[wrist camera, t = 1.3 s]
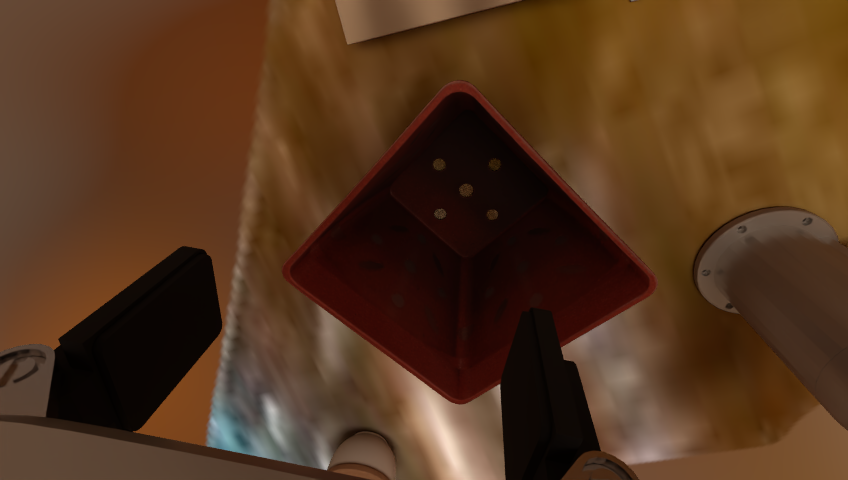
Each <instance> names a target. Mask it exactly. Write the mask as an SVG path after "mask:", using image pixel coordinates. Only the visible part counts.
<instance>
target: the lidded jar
mask: <svg viewBox="0 0 848 480" xmlns="http://www.w3.org/2000/svg"><path fill="white" fill-rule="evenodd" d="M327 471H332V472H336V473H341V474H346V475H351V476H356V477H361V478H366V479H370V480H395V477H396V463H395V458H394V455H393V452H392V450H391V448H390V447H389V445H388V443H387V441H386V440H385V439H384V438H383V437H382V436H381V435H379V434H377V433H374V432H369V431H362V432H358V433H356V434H354V436H352V437H350V438H348V439H346V440H345V441H344V442H343V443H342V444H341V445H340V446H339V447H338V448H337V450H336V452H335V453H334V455H333V457H332V459H331V461H330V464H329V466H328V469H327Z"/></svg>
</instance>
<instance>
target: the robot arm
mask: <svg viewBox="0 0 848 480" xmlns="http://www.w3.org/2000/svg"><path fill="white" fill-rule="evenodd" d="M694 281H695V283H696V286H697V288H698V290H699V291H700V292H701V294H702V295H703V296H704V298H705V299H706V300H707V301H708V302H709V303H711V304H712V305H714V306H715V307H717V308H719V309H721V310H724V311H727V312H732V313H737V314H741V316H742V317H743V318H744V319H745V320H746V321H747V322H748V323H749V324H750V326H751V327H752V328H753V329H754V330H755V331H756V332H757V333H758V334H759V336H760V337H761V338H762V339H763V340H764V341H765V342H766V343H767V345H768V346H769V347H770V348H771V349H772V350H773V351H774V352H775V353H776V355H777V356H778V357H779V358H780V359H781V360H782V361H783V362H784V363H785V365H786V366H787V367H788V368H789V369H790V370H791V371H792V372H793V373H794V375H795V376H796V377H797V378H798V379H799V380H800V381H801V382H802V384H803V385H804V386H805V387H806V388H807V389H808V390H809V391H810V392H811V394H812V395H813V396H814V397H815V398H816V399H817V400H818V401H819V402H820V404H821V405H822V406H823V407H824V408H825V409H826V410H827V411H828V412H829V413H830V415H831V416H832V417H833V418H834V419H835V420H836V421H837V422H838V423H839V424H840V425H842V426H843V427H844V428H845V429H846V430H848V248H847V247H845V246H844V245H842V244H840V243H839V241H838V236H837V234H836V232H835V231H834V229H833V227H832V226H831V225H830V224H829V223H828V222H827V221H825V220H824V219H822V218H820V217H819V216H817V215H815V214H813V213H811V212H809V211H806V210H803V209H798V208H793V207H774V208H767V209H762V210H758V211H754V212H751V213H748V214H746V215H743V216H741V217H739V218H736V219H735V220H733V221H731V222H730V223H728V224H726V225H724V226H723V227H722V228H721V229H719V230H718V231H717V232H716V233H714V234H713V235H712V236H711V238H710V239H709V240H708V241H707V242H706V243H705V244H704V246H703V247H702V249H701V250H700V252H699V254H698V256H697V259H696V261H695V266H694ZM221 329H222V319H221V313H220V307H219V301H218V295H217V289H216V283H215V277H214V271H213V265H212V260H211V257H210V256H209V255H207V253H206V252H205V250H203V249H197V248H192V247H186V246H182V247H180V248H179V249H177V250H176V251H175V252H173V253H172V254H171V255H169V256H168V257H167V258H166V259H164V260H163V261H162V262H160V263H159V264H157V265H156V266H155V267H153V268H152V269H151V270H149V271H148V272H147V273H145V274H144V275H143V276H141V277H140V278H139V279H138V280H136V281H135V282H133V283H132V284H131V285H130V286H128V287H127V288H126V289H124V290H123V291H121V292H120V293H119V294H118V295H116V296H115V297H113V298H112V299H111V300H109V301H108V302H107V303H105V304H104V305H103V306H101V307H100V308H99V309H98V310H96V311H95V312H93V313H92V314H91V315H89V316H88V317H87V318H86V319H84V320H83V321H81V322H80V323H79V324H77V325H76V326H75V327H74V328H72V329H71V330H69V331H68V332H67V333H66V334H64V335H63V336H61V337H60V338H59V339H58V340H59V342H60V344H61V345H60V346H59V347H57V348H56V349H55V350H53V349H52V348H50V347H49V346H46V345H42V344H29V345H22V346H17V347H14V348H11V349H8V350H4V351H2V352H0V480H370V479H366V478H361V477H356V476H351V475H346V474H341V473H336V472H332V471H327V470H322V469H317V468H312V467H307V466H302V465H297V464H292V463H287V462H282V461H277V460H272V459H267V458H262V457H257V456H252V455H247V454H242V453H237V452H232V451H227V450H222V449H217V448H212V447H207V446H201V445H196V444H191V443H186V442H181V441H176V440H171V439H165V438H160V437H155V436H150V435H144V434H140V433H134V432H133V431H137V430H139V429H140V428H141V427H142V426H143V425H144V424H145V423H146V422H147V420H148V419H149V418H150V417H151V416H152V414H153V413H154V412H155V411H156V410H157V408H158V407H159V406H160V405H161V404H162V402H163V401H164V400H165V399H166V397H167V396H168V395H169V394H170V393H171V391H172V390H173V389H174V388H175V387H176V386H177V384H178V383H179V382H180V381H181V380H182V378H183V377H184V376H185V375H186V373H187V372H188V371H189V370H190V369H191V368H192V366H193V365H194V364H195V363H196V362H197V360H198V359H199V358H200V357H201V356H202V354H203V353H204V352H205V351H206V350H207V349H208V347H209V346H210V345H211V344H212V342H213V341H214V340H215V339H216V338H217V337H218V335H219V334H220V332H221ZM500 390H501V407H502V424H503V442H504V459H505V476H506V480H639V479H638V477H637V476H636V474H635V473H634V472H633V471H632V470H631V469H630V468H629V467H628V466H627V465H626V464H625V463H624V462H623V461H621V460H619V459H618V458H616V457H615V456H613V455H611V454H608V453H605V452H602V451H601V450H600V446H599V443H598V439H597V436H596V432H595V429H594V425H593V422H592V418H591V415H590V411H589V408H588V404H587V400H586V397H585V393H584V390H583V386H582V383H581V379H580V376H579V372H578V369H577V366H576V364H575V363H574V362H573V361H567V360H564V359H563V355H562V351H561V347H560V343H559V339H558V335H557V331H556V327H555V323H554V319H553V315H552V312H551V311H550V310H545V309H539V308H533V307H531V308H530V309H529V311H528V312H527V311H523V312H522V313H521V316H520V319H519V323H518V326H517V329H516V332H515V335H514V338H513V341H512V345H511V348H510V351H509V354H508V357H507V360H506V363H505V367H504V370H503V373H502V376H501V384H500Z"/></svg>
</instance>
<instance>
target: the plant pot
mask: <svg viewBox="0 0 848 480" xmlns="http://www.w3.org/2000/svg"><path fill="white" fill-rule="evenodd" d="M438 158H441V159H443V160H444V161H445V163H446V167H445V169H444V170H442V171H437V170H435V169H434V167H433V162H434V160H436V159H438ZM493 158H497V159H498V160H500V161H501V167H500V169H499V170H498V171H491V170H490V169H489V167H488V165H489V161H490V160H491V159H493ZM463 184H470V185H472V187H473V189H474V193H473V195H472V196H470V197H463V196H461V195H460V192H459V188H460V187H461V186H462V185H463ZM439 208H442V209H444V210H445V211H446V213H447V215H446V217H445V218H444V219H442V220H439V219H437V218H436V217H435V216H434V212H435V210H437V209H439ZM491 209H493V210H496V211H498V213H499V217H498V218H497V219H496V220H494V221H490V220H488V219H487V215H486V213H487V212H488V211H489V210H491ZM282 273H283V276H284V278H285V279H286V281H288V282H289V283H290V284H291V285H292V286H294V287H295V288H296V289H298V290H299V291H300V292H301V293H303V294H304V295H305V296H307V297H308V298H309V299H311V300H312V301H313V302H315V303H316V304H318V305H319V306H320V307H322V308H323V309H324V310H326V311H327V312H328V313H330V314H331V315H333V316H334V317H335V318H337V319H338V320H339V321H341V322H342V323H343V324H345V325H346V326H347V327H349V328H350V329H351V330H353V331H354V332H355V333H357V334H358V335H360V336H361V337H362V338H364V339H365V340H367V341H368V342H369V343H371V344H372V345H373V346H375V347H376V348H377V349H379V350H380V351H381V352H383V353H384V354H386V355H387V356H388V357H390V358H391V359H393V360H394V361H395V362H397V363H398V364H399V365H401V366H402V367H403V368H405V369H406V370H407V371H409V372H410V373H412V374H413V375H414V376H416V377H417V378H418V379H420V380H421V381H422V382H424V383H425V384H426V385H428V386H429V387H430V388H432V389H433V390H434V391H436V392H437V393H438V394H440V395H441V396H442V397H444V398H445V399H447V400H448V401H450V402H452V403H455V404H466V403H468V402H470V401H472V400H473V399H475V398H477V397H479V396H480V395H482V394H484V393H485V392H487V391H488V390H490V389H492V388H494V387H495V386H497V385H499V384H501V376H502V373H503V370H504V367H505V363H506V360H507V357H508V354H509V351H510V348H511V345H512V341H513V338H514V335H515V332H516V329H517V326H518V323H519V319H520V316H521V313H522V312H523V311H527V312H528V311H529V309H530V308H531V307H533V308H539V309H545V310H550V311H551V312H552V315H553V319H554V323H555V327H556V331H557V335H558V339H559V343H560V347H563V346H565V345H566V344H568V343H570V342H571V341H573V340H575V339H577V338H578V337H580V336H582V335H583V334H585V333H587V332H589V331H590V330H592V329H594V328H595V327H597V326H599V325H601V324H602V323H604V322H606V321H608V320H609V319H611V318H613V317H615V316H616V315H618V314H620V313H621V312H623V311H625V310H627V309H628V308H630V307H632V306H633V305H635V304H637V303H638V302H640V301H642V300H644V299H646V298H647V297H648V296H650V295H651V294H653V292H654V291H655V290H656V288H657V285H658V281H657V278H656V276H655V274H654V273H653V272H652V271H651V270H650V269H649V268H648V267H647V266H646V264H645V263H644V262H643V261H642V260H641V259H640V258H639V257H638V256H637V255H636V254H635V253H634V252H633V251H632V250H631V249H630V248H629V247H628V246H627V245H626V244H625V243H624V242H623V241H622V240H621V239H620V238H619V237H618V236H617V235H616V234H615V233H614V232H613V230H612V229H611V228H610V227H609V226H608V225H607V224H606V223H605V222H604V221H603V220H602V219H601V218H600V217H599V216H598V215H597V214H596V213H595V212H594V211H593V210H592V209H591V208H590V207H589V206H588V205H587V204H586V203H585V202H584V201H583V200H582V199H581V198H580V197H579V196H578V195H577V194H576V192H575V191H574V190H573V189H572V188H571V187H570V186H569V185H568V184H567V183H566V182H565V181H564V180H563V179H562V178H561V177H560V176H559V175H558V174H557V173H556V172H555V171H554V170H553V169H552V167H551V166H550V165H549V164H548V163H547V162H546V161H545V160H544V159H543V158H542V157H541V156H540V155H539V154H538V153H537V152H536V151H535V150H534V149H533V147H532V146H531V145H530V144H529V143H528V142H527V141H526V140H525V139H524V138H523V137H522V136H521V135H520V134H519V133H518V132H517V131H516V130H515V129H514V128H513V126H512V125H511V124H510V123H509V122H508V121H507V120H506V119H505V118H504V117H503V116H502V115H501V114H500V113H499V112H498V111H497V110H496V109H495V107H494V106H493V105H492V104H491V103H490V102H489V101H488V100H487V99H486V98H485V97H484V96H483V95H482V94H481V92H480V91H479V90H478V89H477V88H476V87H475V86H474V85H472V84H471V83H469V82H467V81H463V80H457V81H452V82H450V83H448V84H446V85H445V86H444V87H443V88H442V89H441V90H440V91H439V92H438V93H437V94H436V95H435V97H434V98H433V99H432V100H431V101H430V102H429V103H428V104H427V106H426V107H425V108H424V109H423V110H422V111H421V112H420V114H419V115H418V116H417V117H416V118H415V119H414V120H413V122H412V123H411V124H410V125H409V126H408V127H407V128H406V130H405V131H404V132H403V133H402V134H401V135H400V137H399V138H398V139H397V140H396V141H395V142H394V143H393V144H392V146H391V147H390V148H389V149H388V150H387V151H386V152H385V153H384V155H383V156H382V157H381V158H380V159H379V160H378V161H377V162H376V164H375V165H374V166H373V167H372V168H371V169H370V170H369V171H368V173H367V174H366V175H365V176H364V177H363V178H362V179H361V180H360V181H359V183H358V184H357V185H356V186H355V187H354V188H353V189H352V190H351V191H350V193H349V194H348V195H347V196H346V197H345V198H344V199H343V200H342V201H341V202H340V204H339V205H338V206H337V207H336V208H335V209H334V210H333V211H332V212H331V213H330V214H329V216H328V217H327V218H326V219H325V220H324V221H323V222H322V223H321V224H320V225H319V227H318V228H317V229H316V230H315V231H314V232H313V233H312V234H311V235H310V236H309V237H308V238H307V239H306V240H305V242H304V243H303V244H302V245H301V246H300V247H299V248H298V249H297V250H296V251H295V252H294V253H293V255H292V256H291V257H290V258H289V259H288V260H287V261H286V262H285V263H284V264H283V267H282Z"/></svg>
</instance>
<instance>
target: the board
mask: <svg viewBox="0 0 848 480" xmlns="http://www.w3.org/2000/svg"><path fill="white" fill-rule="evenodd" d="M335 1H336V5H337V9H338V12H339V16H340V19H341V23H342V26H343V30H344V34H345V37H346V41H347V44H354V43H360V42H364V41H368V40H372V39H376V38H380V37H384V36H387V35H391V34H395V33H399V32H403V31H407V30H411V29H415V28H419V27H422V26H426V25H430V24H434V23H438V22H442V21H446V20H450V19H454V18H458V17H461V16H465V15H469V14H473V13H477V12H481V11H485V10H489V9H493V8H496V7H500V6H504V5H508V4H512V3H516V2H520V1H524V0H335Z"/></svg>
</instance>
